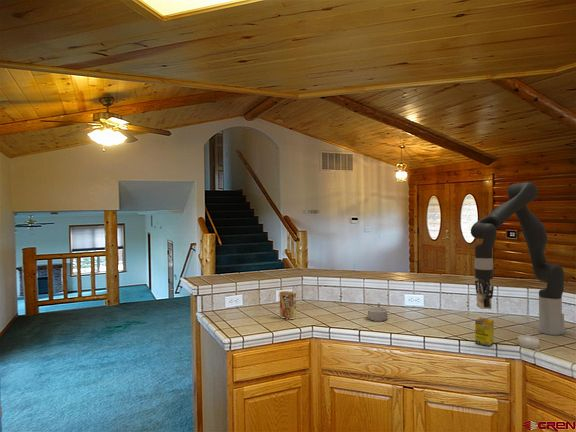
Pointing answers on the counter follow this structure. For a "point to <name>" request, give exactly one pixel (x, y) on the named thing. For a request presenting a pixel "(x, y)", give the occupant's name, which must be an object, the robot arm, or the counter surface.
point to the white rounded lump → (528, 341)
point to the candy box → (287, 304)
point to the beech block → (482, 301)
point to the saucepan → (377, 313)
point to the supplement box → (484, 331)
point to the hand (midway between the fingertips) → (484, 305)
